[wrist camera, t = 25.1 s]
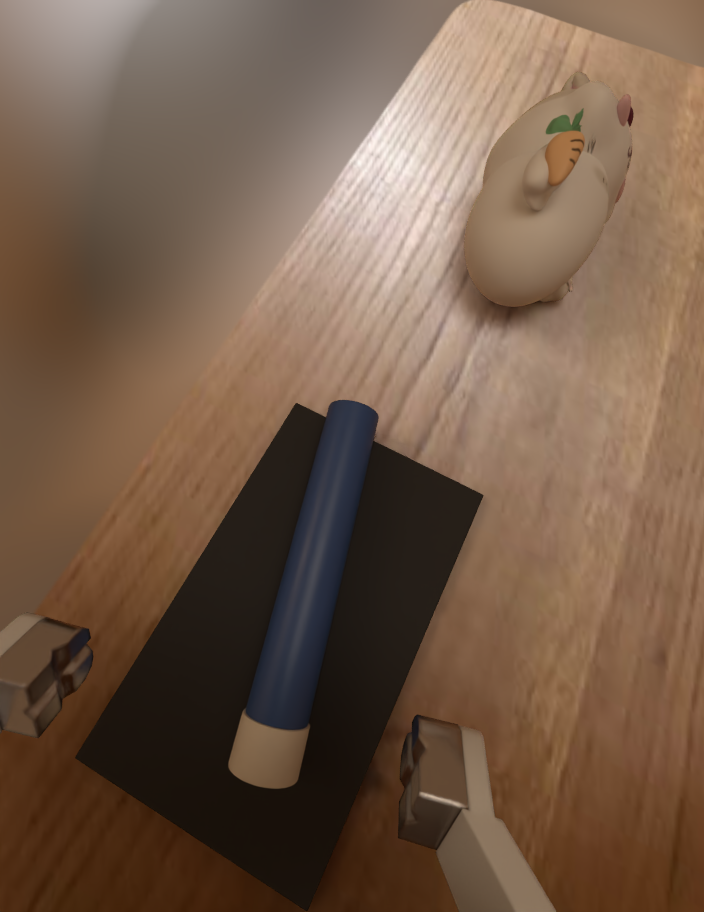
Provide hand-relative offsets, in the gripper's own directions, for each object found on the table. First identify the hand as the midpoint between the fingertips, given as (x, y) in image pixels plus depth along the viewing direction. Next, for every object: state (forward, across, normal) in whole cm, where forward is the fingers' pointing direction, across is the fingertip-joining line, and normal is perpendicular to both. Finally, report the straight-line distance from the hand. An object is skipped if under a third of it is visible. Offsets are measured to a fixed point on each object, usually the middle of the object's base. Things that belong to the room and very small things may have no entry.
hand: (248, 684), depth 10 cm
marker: (+15, 0, +2) cm, 15 cm away
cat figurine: (+28, +8, +12) cm, 32 cm away
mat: (+9, 0, -7) cm, 12 cm away
